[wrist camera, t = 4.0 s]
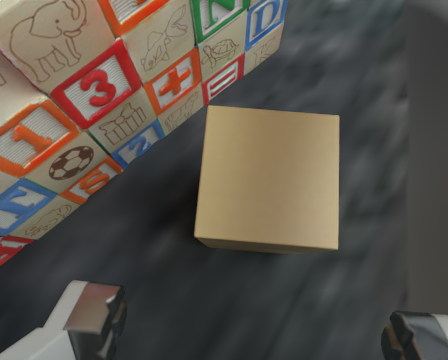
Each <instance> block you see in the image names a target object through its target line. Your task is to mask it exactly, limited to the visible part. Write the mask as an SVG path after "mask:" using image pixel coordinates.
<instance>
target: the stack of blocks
mask: <svg viewBox="0 0 448 360" xmlns="http://www.w3.org/2000/svg"><path fill="white" fill-rule="evenodd" d="M287 4H288V0H0V266H1V265H2V264H3V263H5V262H6V261H7V260H8V259H10V258H11V257H12V256H14V255H15V254H16V253H17V252H19V251H20V250H21V249H22V248H23V247H24V246H25V245H26V244H30V243H31V242H33V241H34V240H35V239H36V240H38V239H39V238H41V237H42V236H43V235H44V234H46V233H47V232H48V231H49V230H51V229H52V228H53V227H54V226H56V225H57V224H58V223H59V222H61V221H62V220H63V219H64V218H66V217H67V216H68V215H69V214H71V213H72V212H73V211H74V210H76V209H77V208H78V207H79V206H80V205H81V204H83V203H84V202H85V201H86V200H87V198H88V197H89V196H90V195H91V194H93V193H94V192H95V191H97V190H98V189H100V188H101V187H103V186H104V185H105V184H106V183H107V182H108V181H109V180H110V179H112V178H113V177H114V176H115V175H117V174H121V173H122V172H123V171H124V169H125V168H126V167H128V165H129V163H130V162H131V161H132V160H133V159H134V158H137V157H139V156H141V155H142V154H143V153H145V152H146V151H147V150H149V149H150V148H151V146H152V144H153V143H155V142H156V141H157V140H161V139H163V138H164V137H165V136H167V135H168V134H169V133H170V132H171V131H173V130H174V129H175V128H176V127H178V126H179V125H180V124H181V123H183V122H184V121H185V120H187V119H188V118H189V117H190V116H192V115H193V114H194V113H195V112H197V111H198V110H199V109H200V108H202V107H203V106H205V105H207V104H208V103H209V101H210V100H211V99H212V98H213V97H215V96H216V95H217V94H219V93H220V92H221V91H222V90H224V89H225V88H226V87H228V86H229V85H230V84H232V83H233V82H234V81H235V80H237V79H240V78H241V77H243V76H244V75H246V74H247V73H248V72H250V71H251V70H252V69H254V68H255V67H256V66H257V65H259V64H260V63H261V62H262V61H264V60H265V59H266V58H268V57H269V56H270V55H271V54H273V53H274V52H275V51H276V50H277V49H278V48H279V43H280V38H281V35H282V30H283V26H284V17H285V13H286V9H287Z"/></svg>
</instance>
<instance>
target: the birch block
mask: <svg viewBox="0 0 448 360" xmlns="http://www.w3.org/2000/svg"><path fill="white" fill-rule="evenodd" d="M338 204H339V116H338V115H326V114H313V113H300V112H288V111H275V110H262V109H249V108H236V107H224V106H211V105H209V106H208V108H207V117H206V126H205V136H204V145H203V154H202V164H201V173H200V182H199V192H198V201H197V210H196V220H195V229H194V237H195V238H197V239H198V240H199V241H201V242H202V243H203V244H205V245H206V246H207V247H211V248H222V249H234V250H245V251H256V252H267V253H279V254H297V253H308V252H319V251H330V250H337V249H338Z"/></svg>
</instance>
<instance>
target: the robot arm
mask: <svg viewBox="0 0 448 360" xmlns="http://www.w3.org/2000/svg"><path fill="white" fill-rule="evenodd" d="M124 294H125V292H124V287H123V286H121V285H113V284H104V283H96V282H87V281H78V280H73V281H72V282H70V283H69V284H68V286H67V287H66V289H65V291H64V292H63V294H62V296H61V298H60V299H59V301H58V303H57V304H56V306H55V308H54V309H53V311H52V313H51V315H50V316H49V318H48V320H47V321H46V323H45V325H44V326H43V328H36V329H35V330H33V331H32V332H30V333H29V334H28V335H26V336H25V337H23V338H22V339H20V340H19V341H18V342H16V343H15V344H13V345H12V346H10V347H9V348H8V349H6V350H5V351H3V352H2V353H0V360H113V357H114V354H115V351H116V344H115V340H116V339H117V338H118V337H119V336H120V335H121V334H122V332H123V329H124V326H125V321H126V316H127V306H126V302H125V301H123V300H122V299H123V296H124ZM390 321H391V323H392V324H390V325H388V326H387V327H385V328H384V330H383V333H382V337H381V346H382V352H383V355H384V358H385V360H448V315H437V314H428V313H419V312H407V311H395V312H393V313H392V314H391V316H390Z"/></svg>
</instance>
